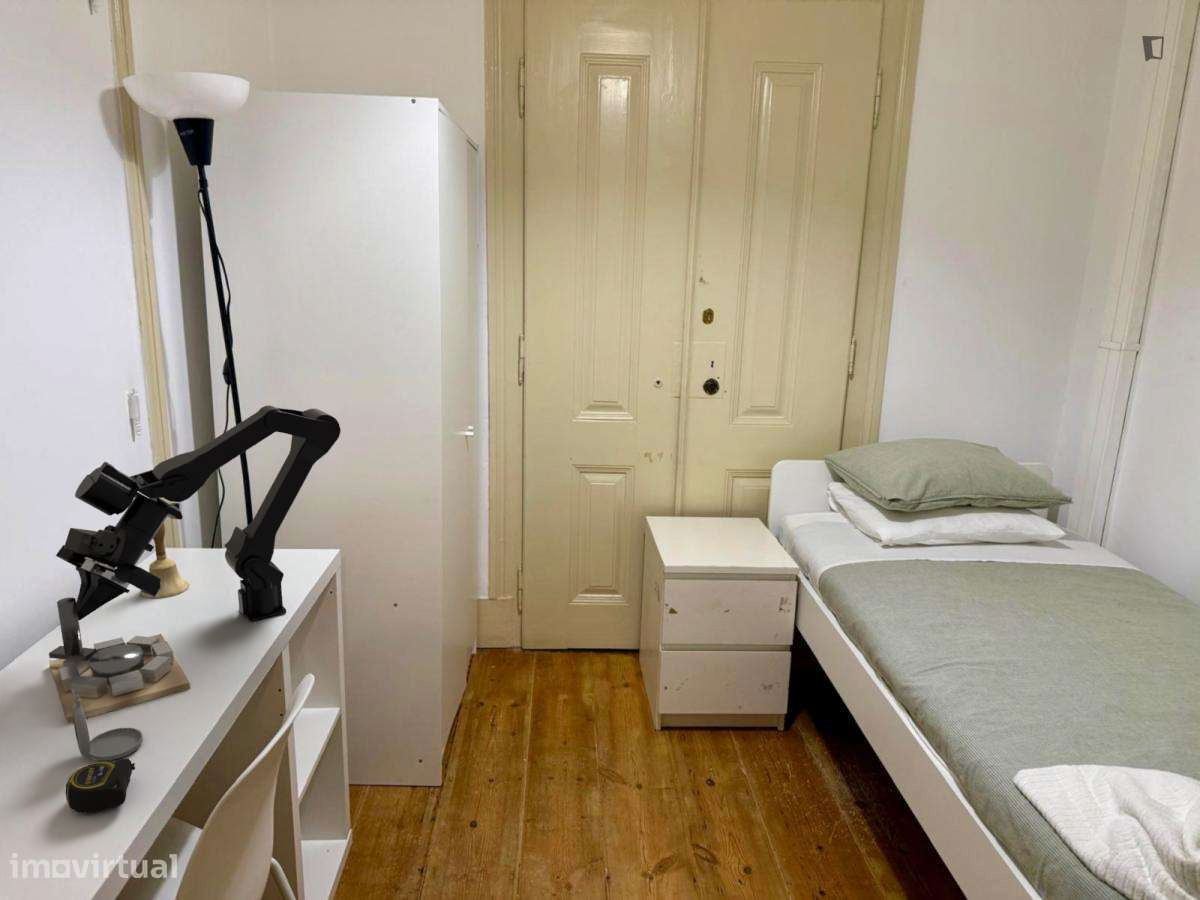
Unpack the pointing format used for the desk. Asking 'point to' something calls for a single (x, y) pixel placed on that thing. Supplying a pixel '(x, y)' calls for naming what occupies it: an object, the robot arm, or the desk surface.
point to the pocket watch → (103, 737)
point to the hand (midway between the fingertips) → (75, 618)
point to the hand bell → (165, 570)
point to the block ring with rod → (81, 656)
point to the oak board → (108, 702)
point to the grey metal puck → (116, 661)
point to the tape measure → (99, 786)
